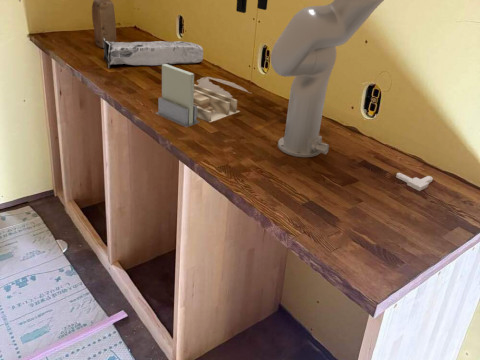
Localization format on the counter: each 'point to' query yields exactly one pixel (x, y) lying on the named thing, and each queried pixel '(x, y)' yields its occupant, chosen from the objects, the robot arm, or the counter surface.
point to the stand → (175, 112)
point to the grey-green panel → (178, 87)
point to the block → (103, 21)
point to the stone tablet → (215, 88)
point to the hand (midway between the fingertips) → (251, 10)
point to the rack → (215, 105)
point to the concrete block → (151, 53)
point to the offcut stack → (202, 102)
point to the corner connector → (415, 181)
